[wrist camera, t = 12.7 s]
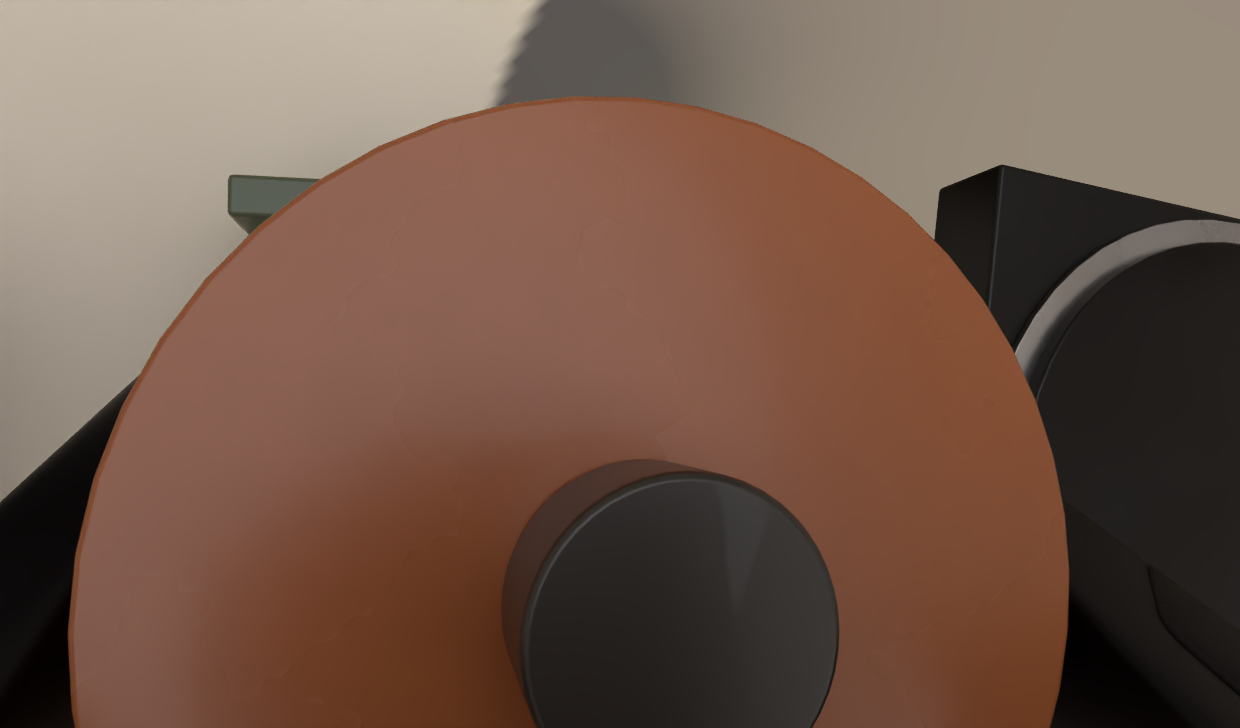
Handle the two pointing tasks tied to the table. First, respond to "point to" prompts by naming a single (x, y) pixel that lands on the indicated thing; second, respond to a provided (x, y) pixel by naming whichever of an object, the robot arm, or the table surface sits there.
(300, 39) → the table surface
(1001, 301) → the hob
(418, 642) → the pot
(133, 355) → the table surface
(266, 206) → the rack
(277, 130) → the table surface
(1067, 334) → the hob plate
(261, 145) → the table surface
